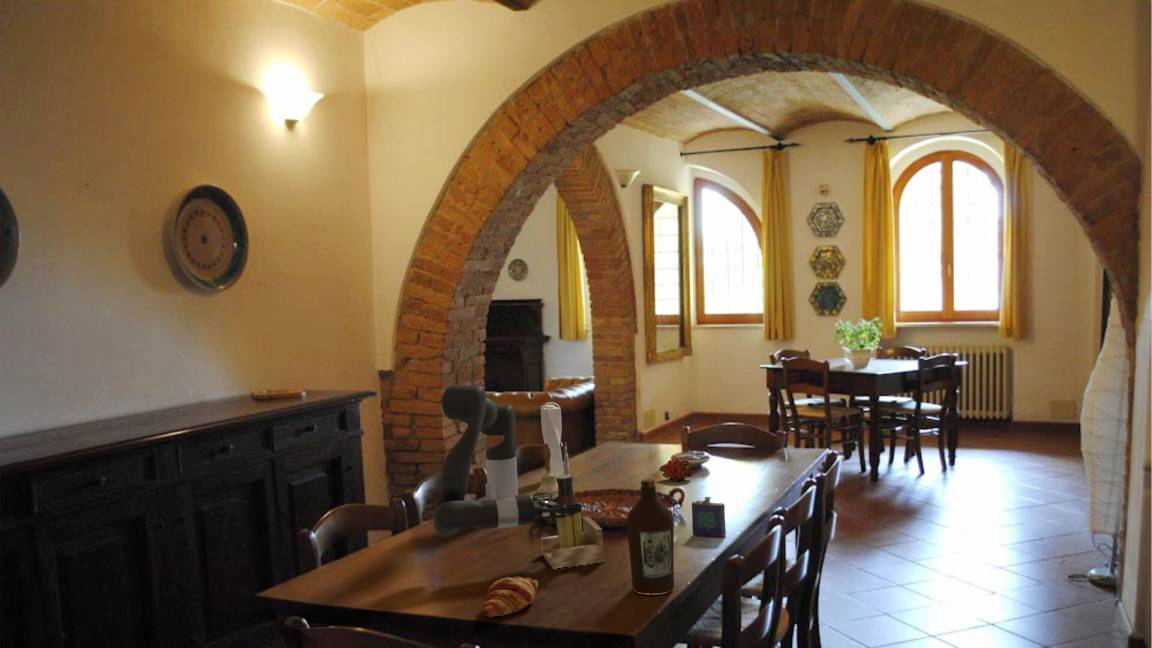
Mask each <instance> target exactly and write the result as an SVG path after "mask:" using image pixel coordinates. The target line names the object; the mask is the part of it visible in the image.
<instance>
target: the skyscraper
mask: <svg viewBox="0 0 1152 648" xmlns="http://www.w3.org/2000/svg"><path fill="white" fill-rule="evenodd" d="M555 405H556V406H555ZM540 418H541V419H540V421H541V422H540V424H541V432H542V438H543V444H546V443H547V444H548V446H549V448H550V453H551V456H550V470H551V473H553V474H555V478H557V477H558V476H560V475H571V474H570V466H569V465H570V464H569V454H568V451H567V450H568V447H567V442H564V454H563V457H562V449H561V440H562V431H563V430H562V429H563V428H562V427H563V425H562V423H563V422H562V410H561V406H560V405H559V404H558V403H556V402H553V401H550V402H546V403H545V404H544V405H541V406H540ZM563 458H564V463H563ZM544 470H545V469H544ZM544 472H545V473H546V470H545V471H544ZM545 473H544V474H545ZM556 481H557V479H556Z"/></svg>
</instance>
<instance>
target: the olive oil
mask: <svg viewBox="0 0 1152 648" xmlns="http://www.w3.org/2000/svg"><path fill="white" fill-rule="evenodd" d="M655 483H656V480H654V479H651V478H645V479H641V480H640V485H641V486H640V495H641V496H640V497H639V499H638V501H636V503H635V504H634V506H632V508H631V509H630V510H629V512H628V514H627V519H626V532H627V540H628V551H629V553H628V554H629V562H630V571H631V583H632V584H631V585H632V586H631V587H632V590H633V589H634V590H635V591H637V592H641V593H650V594H652V593H663V592H668V591H671V590H672V589H673V588H674V589H675V577H674V575H675V572H674V571H675V570H674V569H675V567H674V564H675V563H674V559H675V557H674V556H675V555H674V537H675V536H674V531H675V530H674V525H675V524H674V523H675V522H674V519H673V516H672V512H671V510H670V509H669V508H668V507H667V506H666V504H664V503H663V502H662V501H661V500H660V499H659V498H658V497H657V489H656V488H657V487H656V485H655ZM674 589H673V590H674ZM671 592H672V591H671Z"/></svg>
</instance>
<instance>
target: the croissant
mask: <svg viewBox="0 0 1152 648" xmlns="http://www.w3.org/2000/svg"><path fill="white" fill-rule="evenodd" d="M538 587H539V582H538V581H537V579H534V580H533V579H532V578H530V577H525V578H523V577H520V576H513V577H504V578H500V579H498V580H496V581H494V582H493V584H492V585H490V587H489V589H488V590H487V594H486V595H487V596H486V597H485V602H484V604H483V605H482V613H483V615H484V616H486V617H488V618H495V617H494V616H501V615H506V614H509V613H511V612H513V611H516V610H520V609H522V608H523V607H525V606H527V605H528V604H530V605H531V604H532V603H534V601H535V598H536V594H537V590H538ZM522 610H523V609H522Z"/></svg>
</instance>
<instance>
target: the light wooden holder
mask: <svg viewBox="0 0 1152 648" xmlns="http://www.w3.org/2000/svg"><path fill="white" fill-rule="evenodd" d="M582 524H583V525H582V526H583V527H582V535H583V546H577V547H569V548H562V549H560V547H559V539H558V534H557V535H552V536H543V537H541V538H540V541H541V544H540V545H541V555H542V557H543V556H544V557H543V558H544V559H545V560H546V562H547V561H548V562H547V564H548V565H549V566H550V565H551V566H552V567H551V566H550V567H551V568H552V570H553V569H554V570H558V569H557V568H561V569H564V568H563V567H568V568H573V566H576V567H580V566H579V565H583V566H588V565H587V564H590V565H594V564H593V563H597V564H603V563H602V562H604V563H605V558H604V554H605V553H604V537H603V536H604V535H603V528H601V527H600V525H599V524H597V523H596V522H595V521H594V520H593V519H592V518H591V517H589V516H583V517H582Z"/></svg>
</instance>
